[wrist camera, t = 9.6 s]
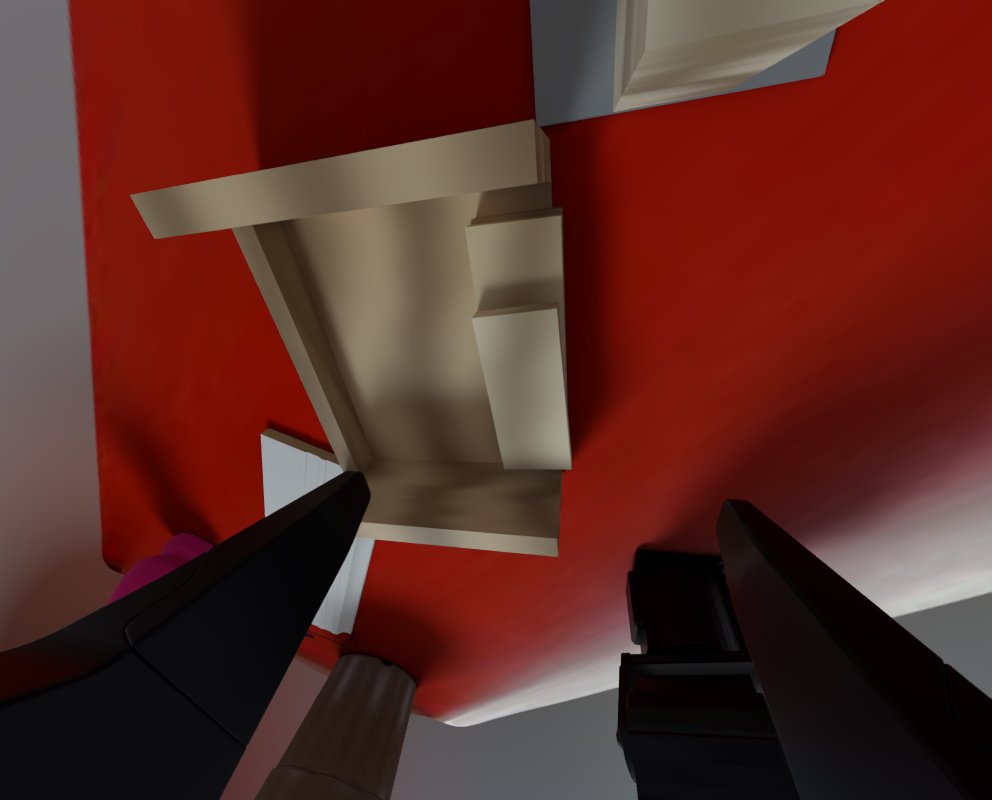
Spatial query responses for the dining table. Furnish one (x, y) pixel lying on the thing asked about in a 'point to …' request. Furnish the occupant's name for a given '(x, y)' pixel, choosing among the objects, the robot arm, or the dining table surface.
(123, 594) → the pepper mill
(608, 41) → the felt pad
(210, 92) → the dining table surface
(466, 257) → the rack
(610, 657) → the dining table surface
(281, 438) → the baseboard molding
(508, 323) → the offcut stack
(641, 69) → the beige wooden block
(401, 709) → the plant pot
